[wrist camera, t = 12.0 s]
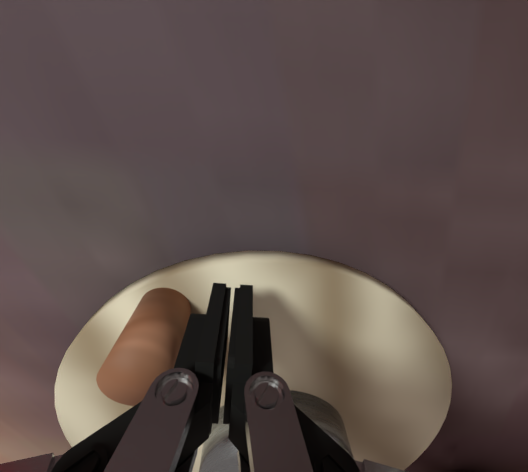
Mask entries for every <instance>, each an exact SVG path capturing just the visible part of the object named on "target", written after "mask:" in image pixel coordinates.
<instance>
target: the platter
mask: <svg viewBox="0 0 528 472" xmlns="http://www.w3.org/2000/svg"><path fill="white" fill-rule="evenodd" d="M213 283H224V284H226V287H231V297H230V312H229V326H228V340H227V350H226V358H225V367H224V376H223V385H222V394H221V403H220V408H221V407H222V406H224V402H225V388H226V374H227V361H228V351H229V341H230V331H231V321H232V312H233V302H234V292H235V288H240V285H253V317H263V318H269V321H270V333H271V346H272V359H273V372H274V373H275V374H277V375H279V376H280V377H282V378H283V379H284V381H285V382H286V383H287V385H288V387H289V389H290V390H294V391H299V392H304V393H308V394H312V395H314V396H317V397H319V398H321V399H323V400H325V401H327V402H328V403H329V404H331V405H332V406H333V407H334V408H335V409H336V410H337V411H338V412H339V414H340V415H341V417H342V420H343V422H344V426H345V429H346V433H347V436H348V440H349V443H350V447H351V450H352V454H353V457H354V460H356V461H360V462H363V460H364V459H366V460H369V461H373V462H376V463H380V464H383V465H386V466H390V467H393V468H397V469H400V470H405V469H406V468H407V467H408V466H409V465H411V464H412V463H413V462H414V461H415V460H416V459H418V457H419V456H420V455H421V454H422V453H423V452H424V451H425V450H426V449H427V448H428V447H429V445H430V444H431V442H432V441H433V440H434V438H435V437H436V435H437V434H438V432H439V431H440V428H441V426H442V424H443V422H444V420H445V418H446V416H447V412H448V409H449V405H450V402H451V391H452V380H451V372H450V366H449V363H448V360H447V357H446V354H445V352H444V349H443V347H442V346H441V344H440V342H439V341H438V339H437V337H436V336H435V334H434V332H433V331H432V330H431V329H430V327H429V326H428V325H427V324H426V322H425V321H424V320H423V319H422V317H421V316H420V315H419V314H418V313H417V312H416V311H415V309H414V308H413V307H412V306H411V305H410V304H409V303H408V302H407V301H406V300H405V299H404V298H403V297H401V296H400V295H399V294H398V293H396V292H395V291H394V290H393V289H391V288H390V287H389V286H387V285H386V284H384V283H382V282H380V281H379V280H377V279H375V278H374V277H372V276H370V275H368V274H367V273H364V272H362V271H359V270H357V269H354V268H352V267H349V266H347V265H344V264H342V263H339V262H336V261H332V260H328V259H324V258H320V257H316V256H312V255H306V254H299V253H291V252H284V251H238V252H228V253H218V254H212V255H208V256H203V257H199V258H194V259H190V260H185V261H182V262H179V263H177V264H174V265H171V266H168V267H165V268H163V269H160V270H157V271H155V272H153V273H151V274H149V275H147V276H145V277H143V278H141V279H139V280H137V281H135V282H133V283H131V284H130V285H128V286H127V287H126V288H124V289H123V290H121V291H120V292H119V293H117V294H116V295H114V296H113V297H112V298H110V299H109V300H108V301H107V302H106V303H105V304H104V305H103V306H102V307H101V308H100V309H99V310H98V311H97V312H96V313H95V314H94V315H93V316H92V317H91V318H90V320H89V321H88V322H87V324H86V325H85V326H84V327H83V329H82V330H81V331H80V333H79V334H78V335H77V337H76V338H75V340H74V341H73V342H72V344H71V345H70V347H69V348H68V349H67V351H66V353H65V356H64V358H63V360H62V362H61V365H60V367H59V369H58V374H57V379H56V383H55V408H56V412H57V416H58V421H59V424H60V426H61V428H62V430H63V433H64V435H65V437H66V439H67V440H68V442H69V443H70V445H71V446H72V447H73V446H75V445H76V444H78V443H79V442H81V441H82V440H84V439H85V438H87V437H88V436H90V435H91V434H93V433H94V432H96V431H97V430H99V429H100V428H102V427H103V426H105V425H106V424H108V423H109V422H111V421H112V420H114V419H115V418H117V417H118V416H120V415H121V414H123V413H124V412H126V411H127V410H129V409H131V408H132V407H134V406H135V405H137V404H138V403H140V402H141V401H142V400H143V398H144V397H145V395H146V393H147V391H148V389H149V387H150V386H151V384H152V382H153V381H154V380H155V378H156V377H157V376H159V375H160V374H161V373H163V372H165V371H167V370H169V369H173V368H174V366H175V362H176V359H177V356H178V353H179V349H180V346H181V343H182V340H183V336H184V333H185V330H186V327H187V323H188V320H189V317H190V314H191V313H194V314H206V312H207V308H208V304H209V299H210V295H211V291H212V286H213ZM202 449H203V444H202V445H201V446H200V447H198V451H197V456H196V459H195V463H194V466H193V470H192V472H199V468H200V462H201V455H202Z"/></svg>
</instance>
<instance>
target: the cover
mask: <svg viewBox="0 0 528 472" xmlns="http://www.w3.org/2000/svg"><path fill="white" fill-rule="evenodd" d="M290 393H291V396H292V400H293V403H294V405H295V406H296V407H298V408H299V409H300V410H301V411H302V412H303V413H304V414H305V415H306V416H308V417H309V418H310V419H311V420H312V421H313V422H314V423H315V424H316V425H318V426H319V427H320V428H321V429H322V430H323V431H324V432H325V433H326V434H328V435H329V436H330V437H331V438H332V439H333V440H334V441H335V442H336V443H338V444H339V445H340V446H341V447H342V448H343V449H344V450H345V451H346V452H348V454H349V455H350V456H351V457H352V458H353V459H354V457H353V454H352V450H351V447H350V443H349V440H348V436H347V433H346V429H345V426H344V422H343V420H342V417H341V415H340V414H339V412H338V411H337V410H336V409H335V408H334V407H333V406H332V405H331V404H329V403H328V402H327V401H325V400H323V399H321V398H319V397H317V396H314V395H312V394H308V393H304V392H299V391H294V390H290ZM223 417H224V406H222V407H221V408H220V412H219V421H218V424H212V429H211V434H209V438H208V439H207V440H206V441H205V442H204V443H203V449H202V455H201V462H200V468H199V472H239V468H238V457H237V453H238V450H237V448H236V447H235V446H234V445H233V444H232V442H231V441H230V440H229V439H228V434H229V424H223Z"/></svg>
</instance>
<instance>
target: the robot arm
mask: <svg viewBox="0 0 528 472" xmlns="http://www.w3.org/2000/svg"><path fill="white" fill-rule="evenodd" d="M230 297H231V287H226V284H224V283H213V286H212V291H211V295H210V299H209V304H208V308H207V312H206V314H194V313H191V314H190V317H189V320H188V323H187V327H186V330H185V333H184V336H183V340H182V343H181V346H180V349H179V353H178V356H177V359H176V362H175V366H174V368H173V369H169V370H167V371H165V372H163V373H161V374H160V375H159V376H157V377H156V378H155V380H154V381H153V382H152V384H151V386H150V387H149V389H148V391H147V393H146V395H145V397H144V398H143V400H142V401H141V402H140V403H138V404H137V405H135V406H134V407H132V408H131V409H129V410H127V411H126V412H124V413H123V414H121V415H120V416H118V417H117V418H115V419H114V420H112V421H111V422H109V423H108V424H106V425H105V426H103V427H102V428H100V429H99V430H97V431H96V432H94V433H93V434H91V435H90V436H88V437H87V438H85V439H84V440H82V441H81V442H79V443H78V444H76V445H75V446H73V447H72V448H71V449H70V450H68V451H67V452H66V453H65V454H63V455H59V456H54V454H53V453H50V454H45V455H41V456H36V457H31V458H27V459H22V460H17V461H13V462H8V463H3V464H0V472H192V470H193V466H194V463H195V459H196V456H197V451H198V447H200V446H201V445H202V444H203V443H204V442H205V441H206V440H207V439H208V438H209V434H211V429H212V424H218V421H219V412H220V403H221V394H222V385H223V376H224V367H225V358H226V350H227V340H228V326H229V312H230ZM223 424H229V434H228V439H229V440H230V441H231V442H232V444H233V445H234V446H235V447H236V448H237V450H238V453H237V457H238V468H239V472H407V471H404V470H400V469H397V468H393V467H390V466H386V465H383V464H380V463H376V462H373V461H369V460H366V459H364V460H363V462H360V461H356V460H354V459H353V458H352V457H351V456H350V455H349V454H348V452H346V451H345V450H344V449H343V448H342V447H341V446H340V445H339V444H338V443H336V442H335V441H334V440H333V439H332V438H331V437H330V436H329V435H328V434H326V433H325V432H324V431H323V430H322V429H321V428H320V427H319V426H318V425H316V424H315V423H314V422H313V421H312V420H311V419H310V418H309V417H308V416H306V415H305V414H304V413H303V412H302V411H301V410H300V409H299V408H298V407H296V406H295V405H294V403H293V400H292V396H291V393H290V389H289V387H288V385H287V383H286V382H285V381H284V379H283V378H282V377H280V376H279V375H277V374H275V373H274V372H273V359H272V346H271V333H270V321H269V318H263V317H253V285H240V288H235V292H234V302H233V312H232V321H231V331H230V341H229V351H228V361H227V374H226V388H225V402H224V417H223Z"/></svg>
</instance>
